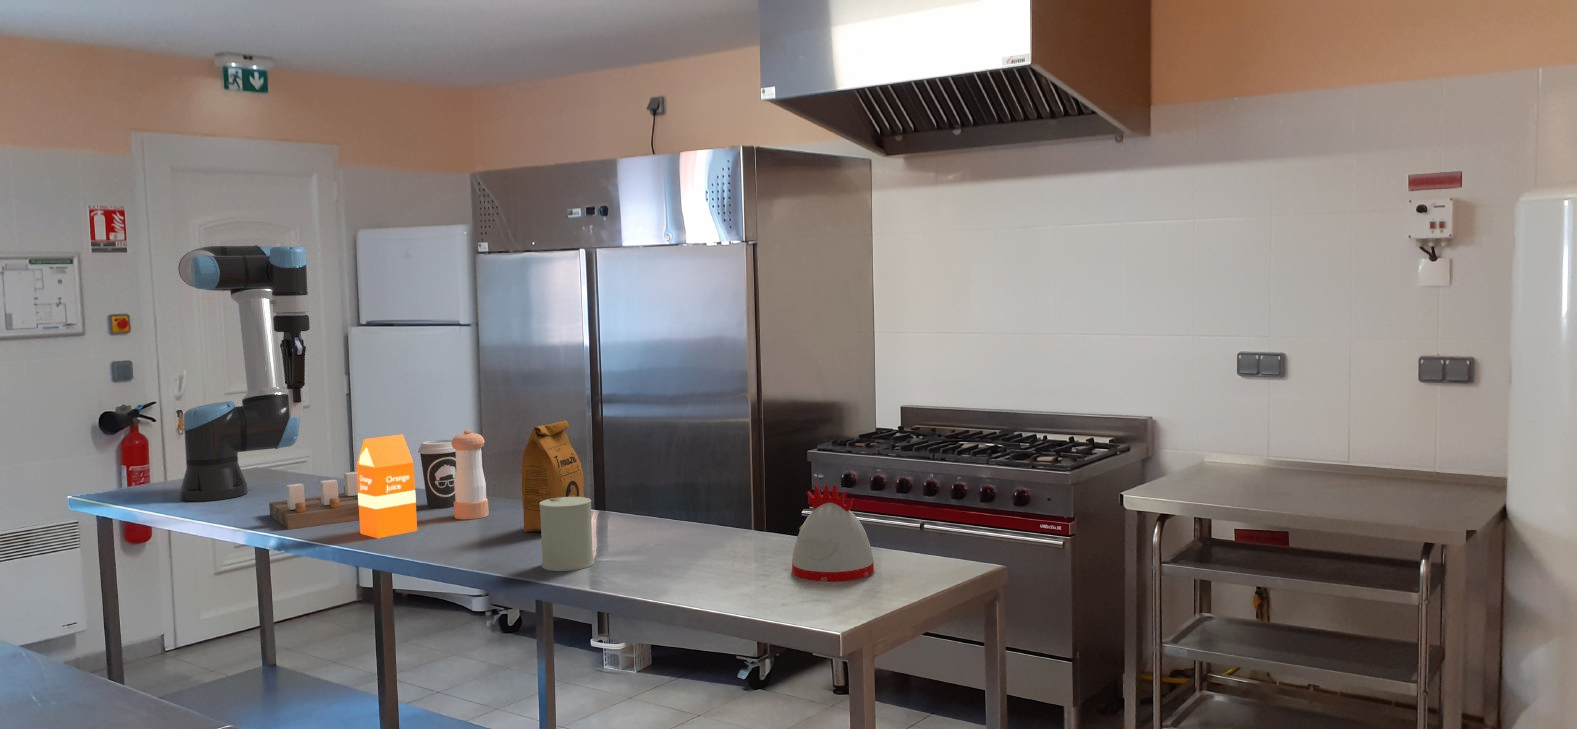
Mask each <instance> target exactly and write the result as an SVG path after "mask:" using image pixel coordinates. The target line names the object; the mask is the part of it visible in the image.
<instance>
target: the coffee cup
mask: <svg viewBox="0 0 1577 729" xmlns="http://www.w3.org/2000/svg"><path fill="white" fill-rule="evenodd" d="M452 440H453V439H434V440H433V439H432V440H427V441H426V440H425V441H423V442H421V443H420V446H419V447H418V450H417V453H418V454H419V455H420V461H421V469H422V476H423V482H424V489H425V496H426V503H427V508H429V509H434V510H435V509H438V510H439V509H448V508H449V509H450V508H454V501H456V499H455V487H454V485H455V476H456V449H454V448H453V447H452V444H451V443H452Z"/></svg>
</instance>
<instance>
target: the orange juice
mask: <svg viewBox="0 0 1577 729" xmlns="http://www.w3.org/2000/svg"><path fill="white" fill-rule="evenodd" d="M359 452H360V453H359V455H358V459H357V462H356V472H357V481H358V504H359V516H360V520H359V530H360V532H359V533H360V534H361V535H365V536H369V537H371V538H375V539H380V538H386V537H391V536H397V535H402V534H407V533H412V532H417V531H418V524H417V523H418V522H417V521H418V520H417V505H416V504H417V499H416V498H417V496H416V485H415V484H416V483H415V467H414V466H415V464H414V461H413V457H412V455H411V452H410V450H409V448H408V444H407V442H406V440H405V437H404V434H403V433H402V434H396V435H388V436H386V435H385V436H380V437H379V436H378V437H372V438H364V439H363V443H362V446H361V449H360V451H359Z"/></svg>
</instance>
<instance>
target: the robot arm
mask: <svg viewBox="0 0 1577 729" xmlns="http://www.w3.org/2000/svg"><path fill="white" fill-rule="evenodd" d="M307 263H308V260H307V257H306V249H305V248H304V247H302V246H269V245H268V246H265V245H258V244H255V245H209V246H203V247H200V248H196V249H193V250H191V251H187V253H185V254H184V255H183V256H182V257H181V258H180V260H179V262H178V267H177V270H178V274H179V277H180V279H181V280H182V281H183V282H184V283H185V284H187V285H188V286H190V287H192V288H195V289H196V290H206V291H216V292H217V291H219V292H220V291H222V292H226V291H228V292H230V298H231V299H232V300H233V301H234V302H235V303H237V305H238V313H239V322H240V324H239V325H240V332H241V341H242V351H243V352H242V353H243V361H244V370H245V380H246V389H247V393H246V394H245V395H244V396H243V398H242V399H241V402H242V403H241V405H240V406H236V404H235V402H234V401H231V400H230V401H227V400H226V401H221V402H213V403H208V404H202V405H199V406H195V407H192V408H189V409H188V410H186V411H184V414H183V427H182V430H183V432H184V448H185V465H186V469H185V473H184V476H183V480H182V482H181V486H180V490H179V491H180V492H179V493H180V494H179V495H180V496H179V497H180V500H181V501H184V502H185V501H186V502H205V501H206V502H208V501H218V500H226V499H227V500H228V499H232V498H237V497H240V496H241V497H242V496H244V495H247V494H248V490H249V488H248V483H247V481H246V479H245V476H244V473H243V471H242V469H241V467H240V465H239V457H238V454H239V453H242V452H252V451H253V452H254V451H264V450H272V449H275V450H278V449H283V448H289V447H292V446H294V445H295V444H296V443H297V440H298V438H299V434H300V427H301V426H300V425H301V417H304V402H303V401H304V399H303V387H304V386H305V385H306V383H305V380H306V378H305V376H306V372H305V371H306V351H307V346H306V345H305V343H304V342H305V340H304V339H303V338H302V334H301V332H307V331H309V330H310V328H311V327H310V316H309V315H308V314H307V313H309V311H310V307H309V304H310V303H309V293H308V276H307V273H308V272H307ZM278 333H283V336H282V338H283V339H281V342H280V343H279V334H278ZM280 351H281V352H280ZM281 357H282V358H281ZM281 360H282V362H281ZM282 367H283V368H282ZM282 369H283V370H282ZM283 375H284V379H283ZM284 384H285V385H284ZM284 386H286V389H287V390H286V389H285V387H284Z"/></svg>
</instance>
